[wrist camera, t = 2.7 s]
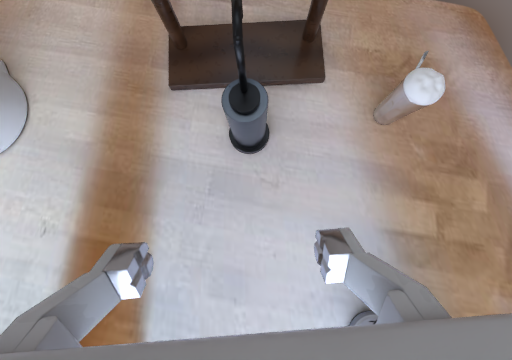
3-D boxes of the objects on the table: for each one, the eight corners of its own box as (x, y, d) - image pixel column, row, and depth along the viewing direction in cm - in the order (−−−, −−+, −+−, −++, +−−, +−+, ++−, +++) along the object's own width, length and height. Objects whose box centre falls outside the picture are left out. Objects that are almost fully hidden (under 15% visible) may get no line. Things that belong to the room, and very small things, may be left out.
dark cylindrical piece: (269, 152, 32) (284, 85, 14) (230, 154, 32) (194, 90, 14) (267, 100, 33) (277, -25, 15) (228, 102, 33) (192, -21, 15)
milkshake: (390, 93, 33) (446, 45, 23) (402, 124, 33) (466, 89, 23) (362, 101, 33) (407, 56, 23) (374, 132, 32) (426, 101, 23)
